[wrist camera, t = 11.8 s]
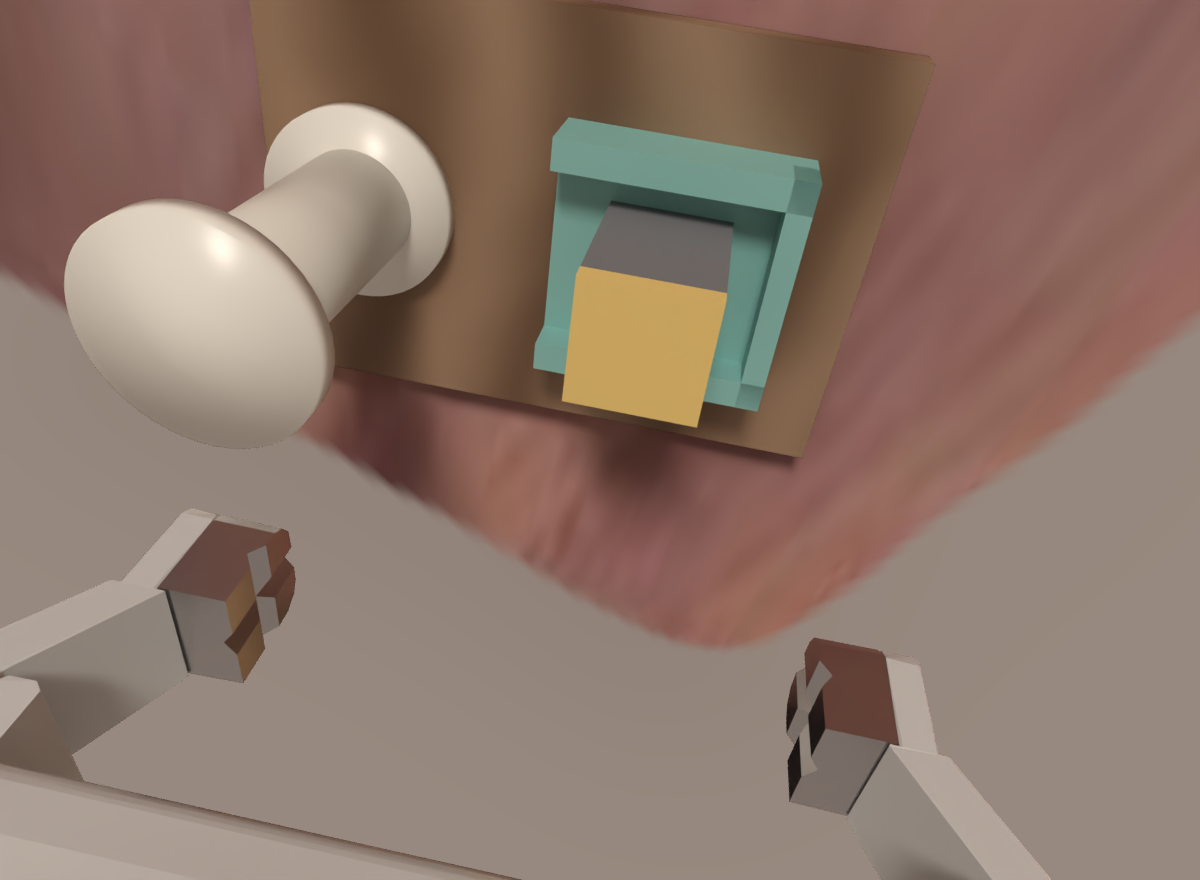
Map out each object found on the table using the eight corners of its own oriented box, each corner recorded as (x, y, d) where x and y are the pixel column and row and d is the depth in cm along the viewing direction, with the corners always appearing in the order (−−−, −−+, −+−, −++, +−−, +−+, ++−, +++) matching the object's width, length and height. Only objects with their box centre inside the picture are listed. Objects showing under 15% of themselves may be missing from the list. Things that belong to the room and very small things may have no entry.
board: (304, 343, 34) (291, 357, 33) (262, -53, 26) (242, -50, 25) (800, 440, 33) (801, 458, 32) (928, 56, 24) (935, 63, 23)
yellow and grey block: (596, 311, 28) (561, 400, 24) (611, 200, 26) (576, 275, 21) (708, 332, 28) (696, 427, 23) (733, 222, 26) (726, 303, 21)
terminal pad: (547, 336, 31) (533, 367, 29) (568, 117, 26) (552, 137, 24) (757, 376, 30) (757, 411, 28) (818, 160, 25) (822, 184, 23)
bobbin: (285, 269, 31) (100, 422, 22) (264, 86, 27) (30, 186, 18) (453, 301, 30) (330, 470, 22) (456, 120, 27) (308, 238, 18)
